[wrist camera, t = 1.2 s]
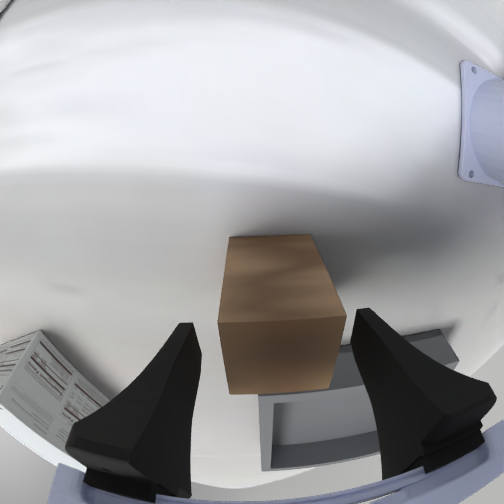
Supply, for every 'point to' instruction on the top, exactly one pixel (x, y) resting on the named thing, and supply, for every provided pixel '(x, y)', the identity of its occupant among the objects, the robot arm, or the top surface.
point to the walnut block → (278, 316)
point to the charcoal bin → (331, 414)
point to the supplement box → (43, 397)
